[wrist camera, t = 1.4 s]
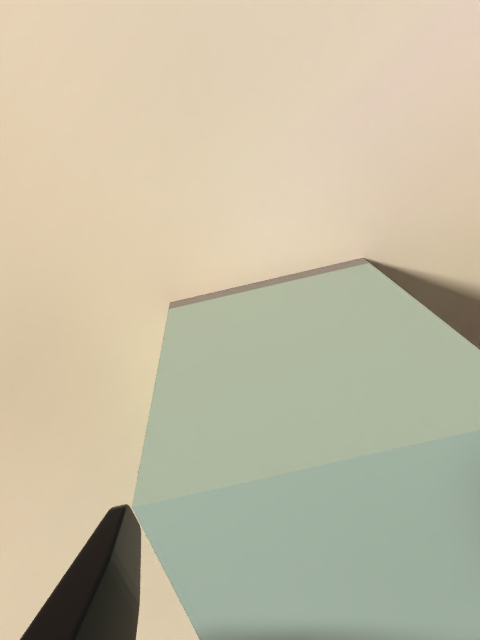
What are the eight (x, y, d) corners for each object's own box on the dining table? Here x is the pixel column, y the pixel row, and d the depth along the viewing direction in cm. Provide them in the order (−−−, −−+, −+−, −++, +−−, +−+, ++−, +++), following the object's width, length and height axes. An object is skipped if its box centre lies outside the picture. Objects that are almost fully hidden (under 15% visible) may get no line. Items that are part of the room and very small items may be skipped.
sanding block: (376, 473, 13) (493, 705, 8) (235, 505, 13) (258, 754, 8) (361, 256, 10) (559, 412, 4) (170, 300, 10) (131, 507, 4)
